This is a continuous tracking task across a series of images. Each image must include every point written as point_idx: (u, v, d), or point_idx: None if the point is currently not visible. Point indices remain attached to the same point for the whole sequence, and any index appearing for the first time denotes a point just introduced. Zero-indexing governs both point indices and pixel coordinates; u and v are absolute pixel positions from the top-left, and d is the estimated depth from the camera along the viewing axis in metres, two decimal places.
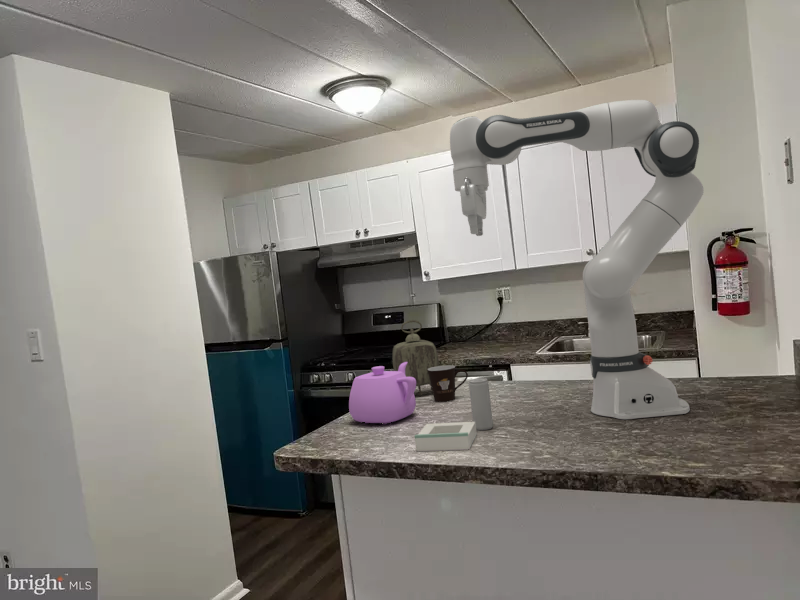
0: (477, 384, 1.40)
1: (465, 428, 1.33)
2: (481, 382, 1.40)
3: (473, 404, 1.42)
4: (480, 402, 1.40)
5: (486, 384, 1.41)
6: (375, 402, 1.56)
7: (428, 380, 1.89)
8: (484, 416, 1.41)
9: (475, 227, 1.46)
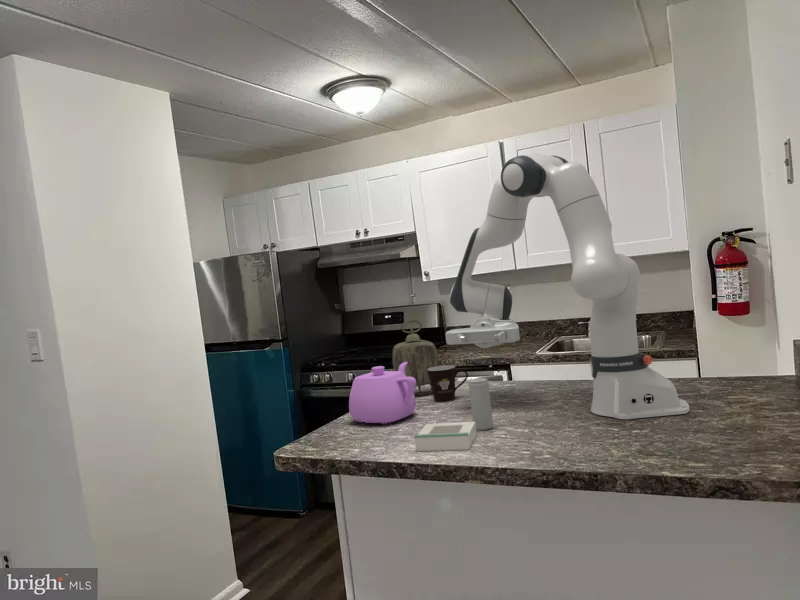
0: (477, 384, 1.40)
1: (465, 428, 1.33)
2: (481, 382, 1.40)
3: (473, 404, 1.42)
4: (480, 402, 1.40)
5: (486, 384, 1.41)
6: (375, 402, 1.56)
7: (428, 380, 1.89)
8: (484, 416, 1.41)
9: None
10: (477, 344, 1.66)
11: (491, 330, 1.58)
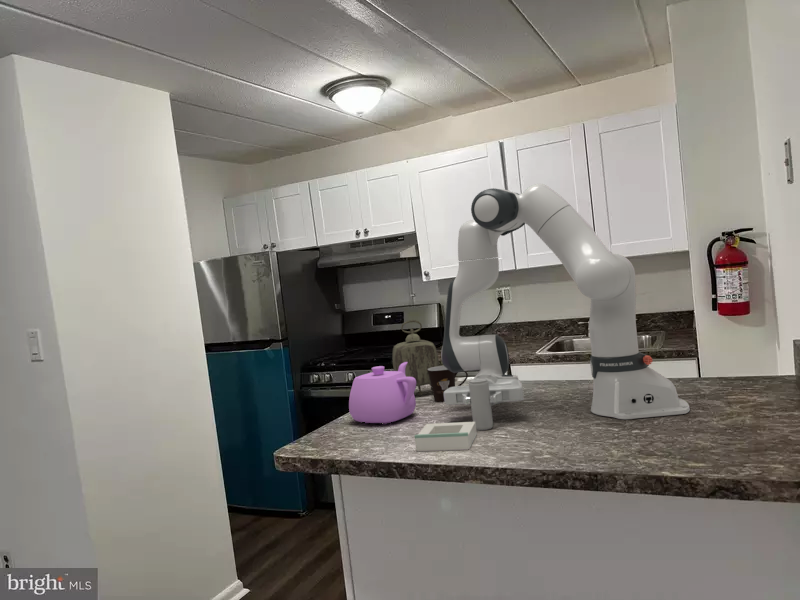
0: (477, 384, 1.40)
1: (465, 428, 1.33)
2: (481, 382, 1.40)
3: (473, 404, 1.42)
4: (480, 402, 1.40)
5: (486, 384, 1.41)
6: (375, 402, 1.56)
7: (428, 380, 1.89)
8: (484, 416, 1.41)
9: (465, 398, 1.44)
10: None
11: (492, 390, 1.46)
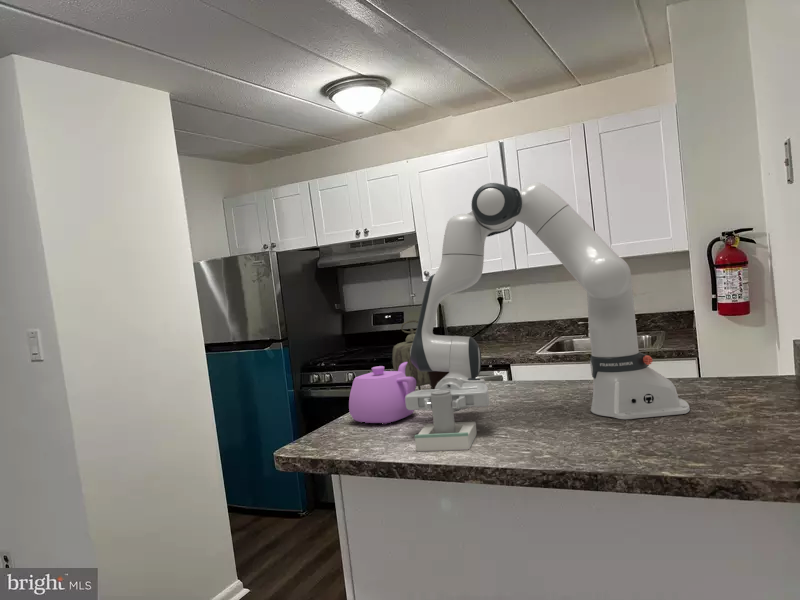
0: (439, 396, 1.32)
1: (465, 428, 1.33)
2: (444, 394, 1.32)
3: (435, 417, 1.33)
4: (442, 415, 1.32)
5: (449, 396, 1.32)
6: (375, 402, 1.56)
7: (428, 380, 1.89)
8: (447, 430, 1.32)
9: None
10: None
11: (456, 394, 1.37)
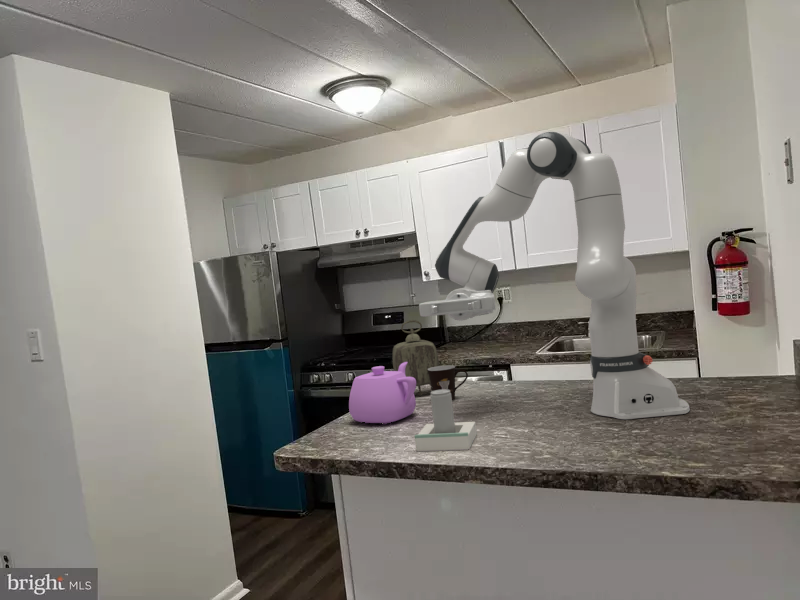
0: (439, 396, 1.32)
1: (465, 428, 1.33)
2: (443, 394, 1.32)
3: (435, 417, 1.33)
4: (442, 415, 1.32)
5: (449, 396, 1.32)
6: (375, 402, 1.56)
7: (428, 380, 1.89)
8: (447, 430, 1.32)
9: None
10: (453, 317, 1.60)
11: (465, 300, 1.51)
